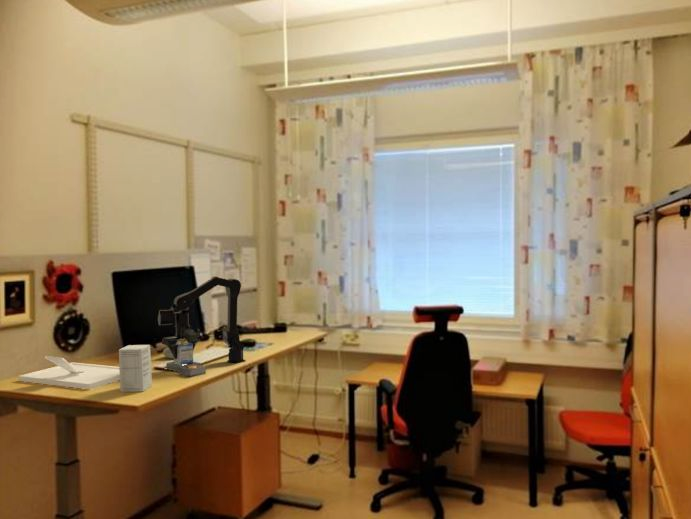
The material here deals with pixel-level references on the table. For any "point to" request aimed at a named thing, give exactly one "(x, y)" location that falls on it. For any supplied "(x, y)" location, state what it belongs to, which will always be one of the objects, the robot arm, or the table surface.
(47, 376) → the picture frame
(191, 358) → the medicine box
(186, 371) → the button housing
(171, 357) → the air freshener
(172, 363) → the grey square tray
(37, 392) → the table surface
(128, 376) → the supplement box
